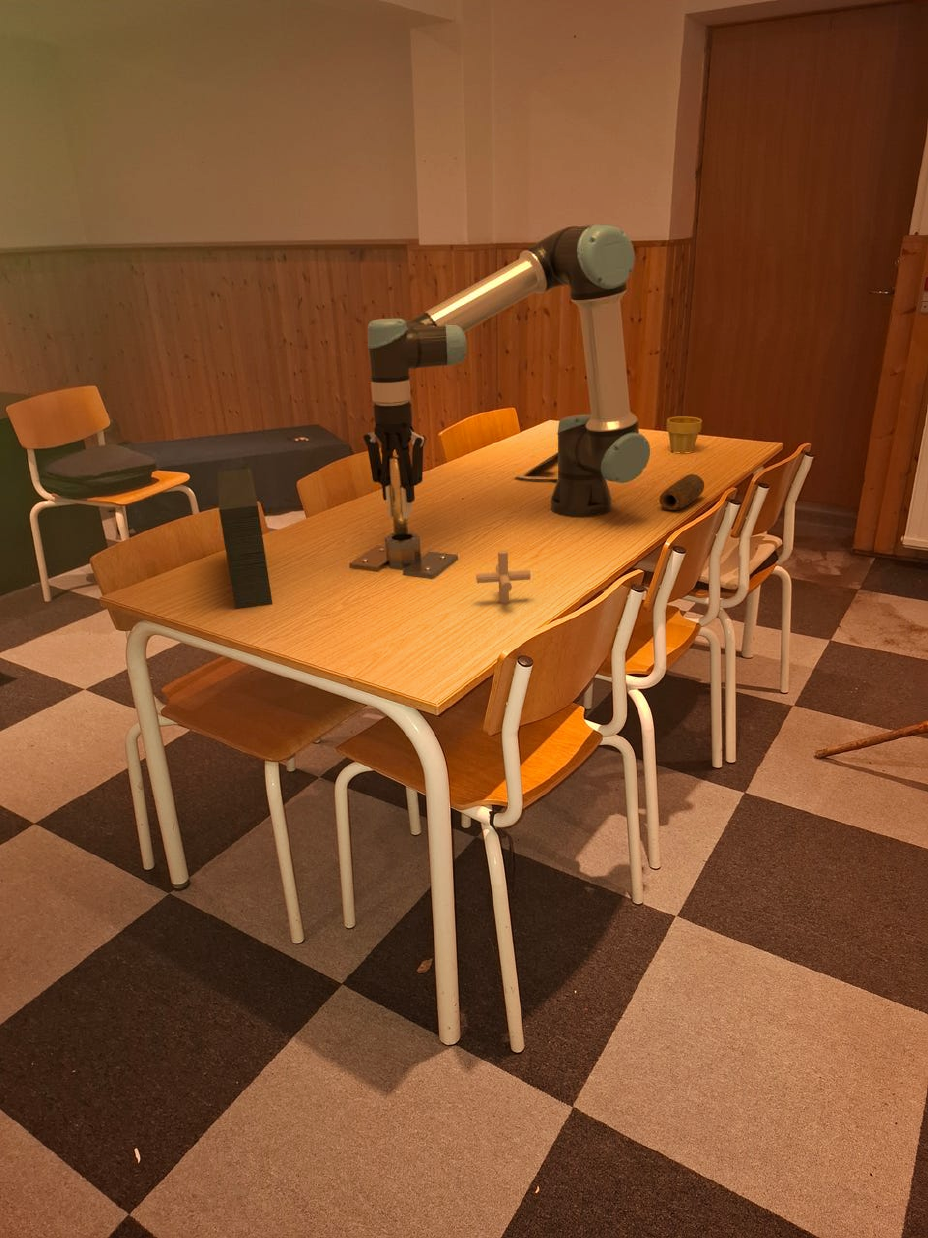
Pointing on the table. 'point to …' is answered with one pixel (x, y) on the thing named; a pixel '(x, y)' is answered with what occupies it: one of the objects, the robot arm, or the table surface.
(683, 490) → the stone weight
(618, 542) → the table surface
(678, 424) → the plant pot
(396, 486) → the hinge pin
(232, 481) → the dark layered block
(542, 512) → the table surface
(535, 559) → the table surface
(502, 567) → the pipe connector
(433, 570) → the hinge
